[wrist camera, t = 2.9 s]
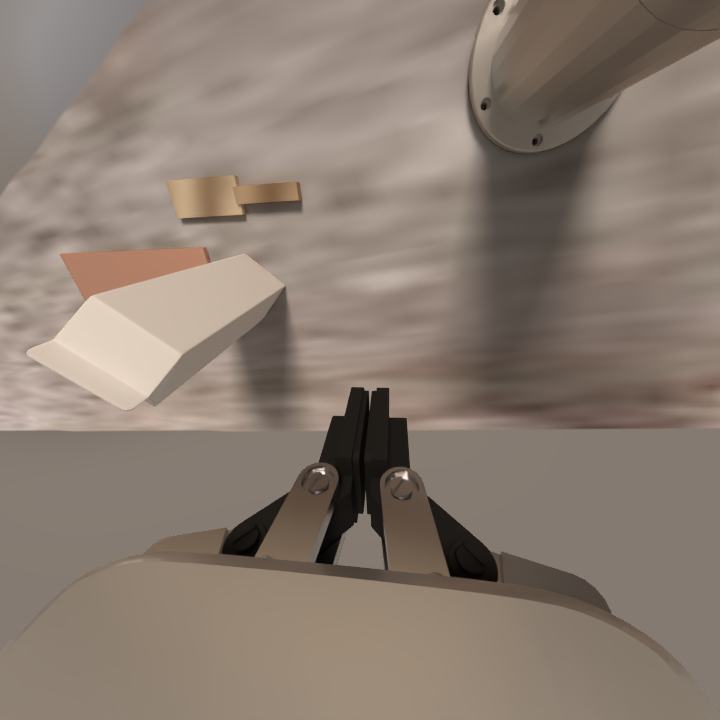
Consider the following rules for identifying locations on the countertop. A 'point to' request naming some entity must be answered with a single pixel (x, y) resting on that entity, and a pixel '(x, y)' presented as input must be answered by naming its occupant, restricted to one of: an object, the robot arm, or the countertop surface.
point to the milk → (159, 330)
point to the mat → (128, 267)
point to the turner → (225, 195)
